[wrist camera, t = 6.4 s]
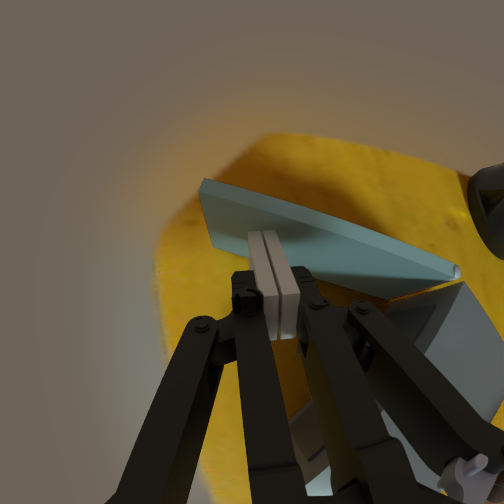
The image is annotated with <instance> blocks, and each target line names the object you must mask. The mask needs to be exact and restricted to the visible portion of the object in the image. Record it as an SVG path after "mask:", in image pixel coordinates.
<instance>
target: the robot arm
mask: <svg viewBox="0 0 504 504" xmlns="http://www.w3.org/2000/svg"><path fill="white" fill-rule="evenodd" d="M468 200H469V205H470V210H471V213H472V216H473V219H474V222H475V224H476V227H477V229H478V231H479V233H480V235H481V237H482V239H483V241H484V242H485V244H486V245H487V247H488V248H489V249H490V251H491V252H492V253H493V254H494V255H495V256H496V257H498V258H499V259H501V260H504V163H502V164H498V165H494V166H491V167H488V168H483V169H481V170H479V171H478V172H477V173H476V174H475V175H473V176H472V177H471V178H470V180H469V183H468ZM248 248H249V270H248V271H235V272H234V274H233V275H232V277H231V281H232V308H233V310H232V312H231V313H230V314H229V315H228V316H227V317H225V318H223V319H220V320H217V321H216V320H215V319H214V318H212V317H210V316H198V317H194V318H193V319H191V320H190V321H189V322H188V323H187V325H186V327H185V329H184V332H183V334H182V336H181V338H180V340H179V343H178V345H177V347H176V349H175V351H174V354H173V356H172V358H171V360H170V363H169V365H168V367H167V369H166V372H165V374H164V376H163V378H162V381H161V383H160V386H159V388H158V390H157V392H156V395H155V397H154V399H153V402H152V404H151V406H150V409H149V411H148V413H147V416H146V418H145V420H144V423H143V425H142V428H141V430H140V433H139V435H138V438H137V440H136V442H135V445H134V447H133V450H132V452H131V455H130V458H129V460H128V462H127V465H126V467H125V470H124V472H123V475H122V478H121V480H120V483H119V485H118V488H117V491H116V493H115V494H114V495H113V496H112V497H111V498H110V499H109V500H108V501H107V502H106V503H105V504H186V503H187V499H188V496H189V492H190V489H191V485H192V481H193V478H194V474H195V470H196V467H197V463H198V460H199V456H200V452H201V449H202V445H203V441H204V438H205V434H206V430H207V427H208V423H209V419H210V416H211V412H212V408H213V405H214V401H215V397H216V394H217V390H218V386H219V383H220V379H221V375H222V372H223V368H224V364H227V363H230V362H233V361H236V360H237V367H238V378H239V389H240V399H241V409H242V419H243V428H244V437H245V446H246V455H247V464H248V474H249V482H250V490H251V498H252V504H484V503H485V501H486V499H487V497H488V495H489V493H490V491H491V489H492V487H493V485H494V483H495V480H496V478H497V476H498V474H499V473H500V472H501V471H503V470H504V431H503V430H501V429H499V428H497V427H495V426H494V425H492V424H490V423H488V422H487V421H485V420H483V419H482V418H481V416H480V415H479V414H478V413H477V412H476V411H475V409H474V408H473V407H472V406H471V405H470V404H469V403H468V402H467V400H466V399H465V398H464V397H463V396H462V395H461V394H460V393H459V391H458V390H457V389H456V388H455V387H454V386H453V385H452V384H451V383H450V382H449V381H448V379H447V378H446V377H445V376H444V375H443V374H442V373H441V372H440V371H439V370H438V369H437V368H436V367H435V366H434V365H433V363H432V362H431V361H430V360H429V359H428V358H427V357H426V356H425V355H424V354H423V353H422V352H421V351H420V350H419V349H418V348H417V347H416V346H415V345H414V344H413V343H412V342H411V341H410V340H409V339H408V338H407V337H406V336H405V335H404V334H403V333H402V332H401V331H400V330H399V329H398V328H397V327H396V326H395V325H394V324H393V323H392V322H391V321H390V320H389V319H388V318H387V317H386V316H385V315H384V314H383V313H382V312H381V311H380V310H379V309H378V308H377V307H376V306H375V305H374V304H372V303H371V302H369V301H366V300H360V299H359V300H354V301H352V302H351V303H350V305H349V307H348V308H347V307H338V306H334V305H332V304H331V302H330V301H329V300H328V299H327V298H325V297H322V295H321V293H320V291H319V289H318V287H317V285H316V283H315V282H314V279H313V277H312V275H311V273H310V271H309V270H308V269H307V268H306V267H304V266H292V267H290V266H289V263H288V261H287V258H286V256H285V253H284V251H283V248H282V246H281V244H280V241H279V239H278V236H277V234H276V232H275V230H265V231H263V239H262V236H261V232H260V231H249V232H248ZM277 328H278V332H279V336H280V340H282V339H291V338H296V332H297V333H298V336H299V339H298V347H297V356H299V353H300V354H301V358H302V362H303V365H304V369H305V373H306V376H307V380H308V384H309V387H310V391H311V395H312V399H313V402H314V406H315V410H316V414H317V417H318V421H319V425H320V429H321V433H322V437H323V441H324V445H325V449H326V452H327V456H328V460H329V464H330V469H331V475H330V484H331V489H332V493H333V495H330V496H308V495H307V490H306V486H305V481H304V477H303V473H302V469H301V467H300V465H299V463H298V462H297V460H296V457H295V452H294V448H293V443H292V438H291V434H290V429H289V425H288V420H287V415H286V411H285V406H284V402H283V397H282V392H281V388H280V383H279V378H278V374H277V369H276V365H275V360H274V355H273V351H272V346H271V341H273V340H277ZM374 397H375V398H376V400H377V401H378V402H379V404H380V405H381V406H382V408H383V409H384V410H385V412H386V413H387V414H388V416H389V417H390V418H391V420H392V421H393V422H394V424H395V425H396V426H397V428H398V429H399V430H400V432H401V433H402V434H403V436H404V437H405V438H406V440H407V441H408V442H409V444H410V445H411V446H412V448H413V449H414V450H415V452H416V453H417V454H418V456H419V457H420V458H421V460H422V461H423V462H424V463H425V464H426V466H427V467H428V468H429V469H430V470H432V471H433V472H434V473H435V474H437V475H438V476H440V477H441V479H440V480H439V481H438V483H437V488H438V489H439V490H440V491H445V492H446V493H447V495H448V496H446V495H444V494H441V493H439V492H437V491H435V490H433V489H431V488H429V487H427V486H425V485H423V484H421V483H419V482H417V481H416V478H415V475H414V473H413V470H412V467H411V464H410V462H409V459H408V457H407V454H406V451H405V449H404V446H403V444H402V443H401V441H400V440H399V439H398V438H395V437H391V436H390V435H389V433H388V430H387V428H386V425H385V423H384V420H383V418H382V415H381V413H380V410H379V408H378V406H377V403H376V401H375V398H374Z"/></svg>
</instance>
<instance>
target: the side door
mask: <svg viewBox="0 0 504 504" xmlns="http://www.w3.org/2000/svg"><path fill="white" fill-rule="evenodd" d="M198 193H199V197H200V201H201V205H202V208H203V212H204V216H205V219H206V223H207V227H208V230H209V234H210V237H211V241H212V245H213V247H215V248H218V249H221V250H224V251H228V252H231V253H234V254H237V255H240V256H244V257H247V258H249V248H248V232H249V231H260V232H261V236H262V239H263V231H265V230H275V232H276V234H277V236H278V239H279V241H280V244H281V246H282V248H283V251H284V253H285V256H286V258H287V261H288V263H289V266H290V267H292V266H304V267H306V268H307V269H308V270H309V271H310V273H311V275H312V277H313V278H315V279H319V280H322V281H325V282H329V283H332V284H335V285H339V286H342V287H345V288H348V289H352V290H355V291H358V292H362V293H365V294H368V295H372V296H375V297H379V298H382V299H386V300H390V299H394V298H397V297H401V296H404V295H408V294H411V293H415V292H418V291H421V290H425V289H428V288H431V287H434V286H437V285H440V284H443V283H446V282H449V281H452V280H455V279H458V278H460V277H461V269H460V267H459V266H458V265H456V264H454V263H452V262H449V261H447V260H445V259H443V258H440V257H438V256H436V255H433V254H431V253H428V252H426V251H424V250H421V249H419V248H416V247H414V246H411V245H409V244H406V243H404V242H401V241H399V240H396V239H394V238H391V237H388V236H386V235H383V234H381V233H378V232H375V231H373V230H370V229H367V228H364V227H362V226H359V225H356V224H353V223H351V222H348V221H345V220H342V219H339V218H336V217H333V216H330V215H327V214H324V213H322V212H319V211H315V210H312V209H309V208H306V207H303V206H300V205H297V204H294V203H291V202H287V201H284V200H281V199H278V198H274V197H271V196H268V195H264V194H261V193H257V192H254V191H251V190H247V189H244V188H240V187H236V186H233V185H229V184H225V183H222V182H218V181H214V180H210V179H206V178H204V180H203V182H202V184H201V186H200V189H199V191H198Z"/></svg>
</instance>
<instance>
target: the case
mask: <svg viewBox="0 0 504 504" xmlns="http://www.w3.org/2000/svg"><path fill="white" fill-rule="evenodd" d="M384 315H385V316H386V317H387V318H388V319H389V320H390V321H391V322H392V323H393V324H394V325H395V326H396V327H397V328H398V329H399V330H400V331H401V332H402V333H403V334H404V335H405V336H406V337H407V338H408V339H409V340H410V341H411V342H412V343H413V344H414V345H415V346H416V347H417V348H418V349H419V350H420V351H421V352H422V353H423V354H424V355H425V356H426V357H427V358H428V359H429V360H430V361H431V362H432V363H433V365H434V366H435V367H436V368H437V369H438V370H439V371H440V372H441V373H442V374H443V375H444V376H445V377H446V378H447V379H448V381H449V382H450V383H451V384H452V385H453V386H454V387H455V388H456V389H457V390H458V391H459V393H460V394H461V395H462V396H463V397H464V398H465V399H466V400H467V402H468V403H469V404H470V405H471V406H472V407H473V408H474V409H475V411H476V412H477V413H478V414H479V415H480V416H481V418H482V419H483V420H485V421H487V422H488V423H491V421H492V420H493V418H494V416H495V414H496V412H497V411H498V409H499V407H500V405H501V403H502V401H503V399H504V342H503V341H502V339H501V337H500V335H499V334H498V332H497V330H496V328H495V327H494V325H493V323H492V322H491V320H490V319H489V317H488V315H487V314H486V312H485V311H484V309H483V308H482V306H481V305H480V303H479V302H478V300H477V299H476V297H475V296H474V294H473V293H472V291H471V290H470V289H469V287H468V286H467V284H466V283H465V282H464V281H463V282H460V283H457V284H453V285H450V286H447V287H444V288H441V289H437V290H434V291H431V292H427V293H424V294H420V295H417V296H413V297H409V298H406V299H402V300H398V301H394V302H392V303H391V304H390V306H389V307H388V308H387V310H386V311H385V313H384ZM374 398H375V397H374ZM375 401H376V403H377V406H378V408H379V410H380V413H381V415H382V418H383V420H384V423H385V425H386V428H387V430H388V433H389V435H390V436H391V437H395V438H398V439H399V440H400V441H401V443H402V444H403V446H404V449H405V451H406V454H407V457H408V459H409V462H410V464H411V467H412V470H413V473H414V475H415V478H416V481H417V482H419V483H421V484H423V485H425V486H427V487H429V488H431V489H433V490H435V491H437V492H439V493H440V492H441V491H440V490H439V489H438V488H437V483H438V481H439V480H440V479H441V477H440V476H438V475H437V474H435V473H434V472H433V471H432V470H430V469H429V468H428V467H427V466H426V464H425V463H424V462H423V461H422V460H421V458H420V457H419V456H418V454H417V453H416V452H415V450H414V449H413V448H412V446H411V445H410V444H409V442H408V441H407V440H406V438H405V437H404V436H403V434H402V433H401V432H400V430H399V429H398V428H397V426H396V425H395V424H394V422H393V421H392V420H391V418H390V417H389V416H388V414H387V413H386V412H385V410H384V409H383V408H382V406H381V405H380V404H379V402H378V401H377V400H376V398H375ZM288 425H289V429H290V434H291V438H292V443H293V448H294V452H295V457H296V460H297V462H298V463H299V465H300V467H301V469H302V473H303V477H304V481H305V486H306V490H307V495H308V496H330V495H333V493H332V489H331V484H330V475H331V469H330V464H329V460H328V456H327V452H326V449H325V445H324V441H323V437H322V433H321V429H320V425H319V421H318V417H317V414H316V410H315V406H314V402H313V399H312V398H311V399H310V400H309V401H308V402H307V403H306V404H305V405H304V406H303V407H302V408H301V409H300V410H299V411H298V412H297V413H296V414H295V415H294V416H292V417H291V418H290V419H289V420H288Z"/></svg>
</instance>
